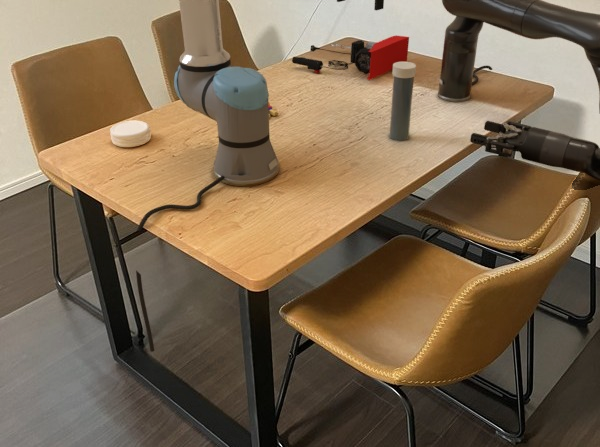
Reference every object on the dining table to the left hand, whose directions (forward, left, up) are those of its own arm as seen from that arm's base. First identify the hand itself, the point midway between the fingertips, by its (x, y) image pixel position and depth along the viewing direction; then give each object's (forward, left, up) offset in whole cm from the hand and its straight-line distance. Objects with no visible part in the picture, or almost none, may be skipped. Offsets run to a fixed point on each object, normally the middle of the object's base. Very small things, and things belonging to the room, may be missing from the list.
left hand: (359, 5), depth 166 cm
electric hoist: (+23, +26, -28) cm, 45 cm away
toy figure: (-25, +14, -28) cm, 40 cm away
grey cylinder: (-8, -24, -28) cm, 37 cm away
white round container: (-61, +21, -28) cm, 70 cm away
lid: (-8, -24, -9) cm, 27 cm away
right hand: (-3, -44, -21) cm, 49 cm away
